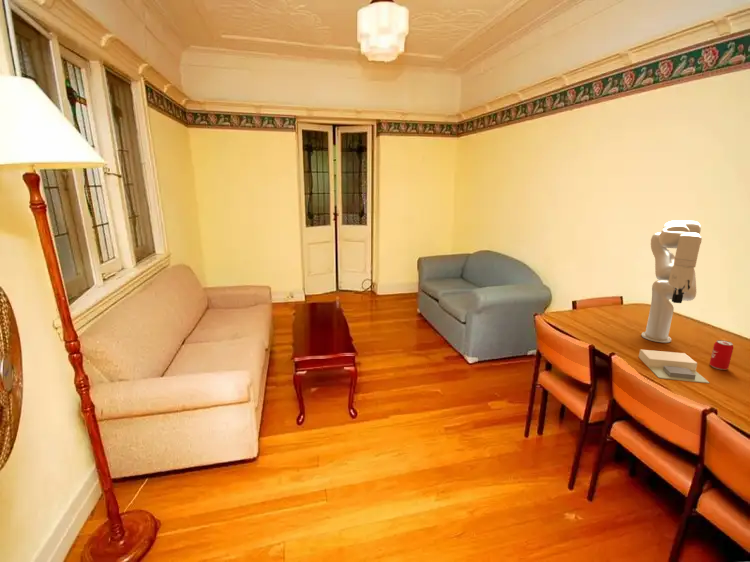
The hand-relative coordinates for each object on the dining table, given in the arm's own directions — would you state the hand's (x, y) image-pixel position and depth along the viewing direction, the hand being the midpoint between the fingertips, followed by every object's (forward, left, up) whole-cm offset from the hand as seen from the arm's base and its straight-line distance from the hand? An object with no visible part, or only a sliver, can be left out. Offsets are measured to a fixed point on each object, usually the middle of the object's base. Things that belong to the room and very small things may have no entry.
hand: (676, 302), depth 167 cm
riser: (+8, -3, -27) cm, 28 cm away
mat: (+18, -3, -27) cm, 33 cm away
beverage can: (+6, +18, -27) cm, 33 cm away
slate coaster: (+19, -3, -25) cm, 31 cm away
